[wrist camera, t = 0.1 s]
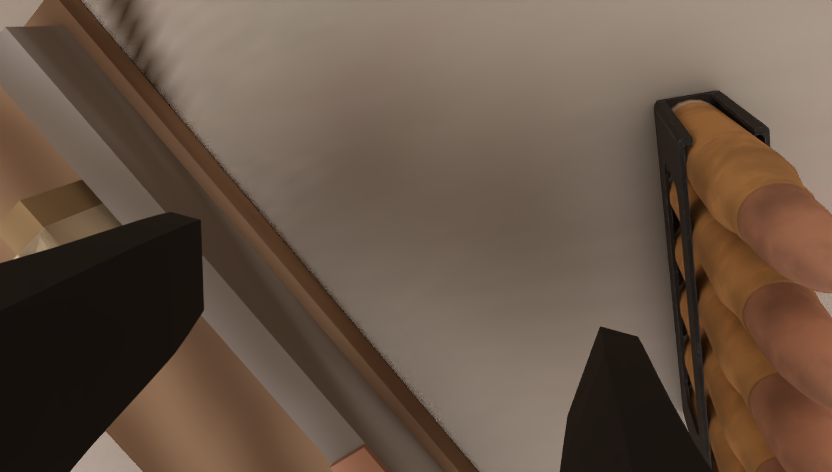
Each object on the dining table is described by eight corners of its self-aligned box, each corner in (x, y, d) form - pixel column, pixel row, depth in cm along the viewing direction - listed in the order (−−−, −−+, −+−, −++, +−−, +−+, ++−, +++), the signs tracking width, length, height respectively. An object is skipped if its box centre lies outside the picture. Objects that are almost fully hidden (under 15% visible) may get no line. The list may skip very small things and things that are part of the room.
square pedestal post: (91, 378, 26) (1, 445, 22) (6, 284, 26) (-103, 336, 22) (214, 274, 23) (136, 330, 19) (121, 166, 23) (19, 200, 19)
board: (347, 665, 30) (318, 746, 26) (-85, 193, 27) (-178, 218, 23) (563, 572, 25) (561, 657, 22) (73, -8, 22) (-16, -12, 19)
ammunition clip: (653, 100, 19) (756, 222, 8) (721, 89, 19) (932, 202, 7) (683, 413, 22) (788, 816, 11) (742, 411, 21) (916, 832, 10)
